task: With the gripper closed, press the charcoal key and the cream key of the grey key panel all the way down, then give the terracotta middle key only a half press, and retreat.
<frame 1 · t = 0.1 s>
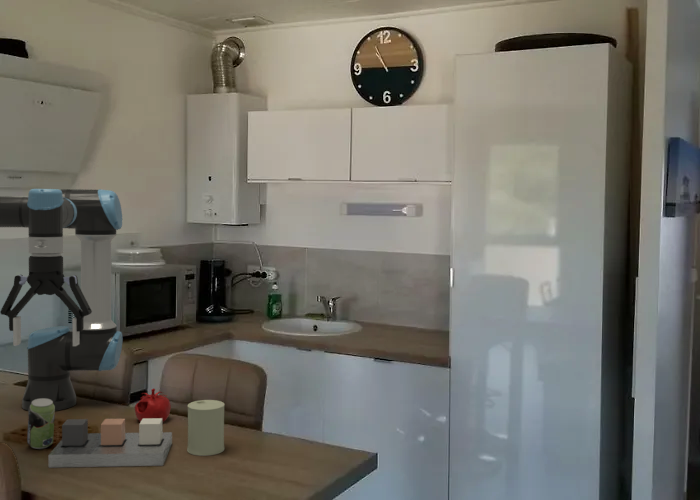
hand: (46, 345, 180), 28 cm above the table, fingers open, 13 cm apart
charcoal key: (75, 432, 185), point 6 cm above the table, slide at 0.0 cm
beverage can: (41, 447, 191), on the table
key panel: (113, 455, 186), on the table
pomegranate: (152, 421, 215), on the table
can: (205, 450, 191), on the table
terracotta key: (113, 431, 186), point 6 cm above the table, slide at 0.0 cm
cream key: (151, 431, 187), point 6 cm above the table, slide at 0.0 cm
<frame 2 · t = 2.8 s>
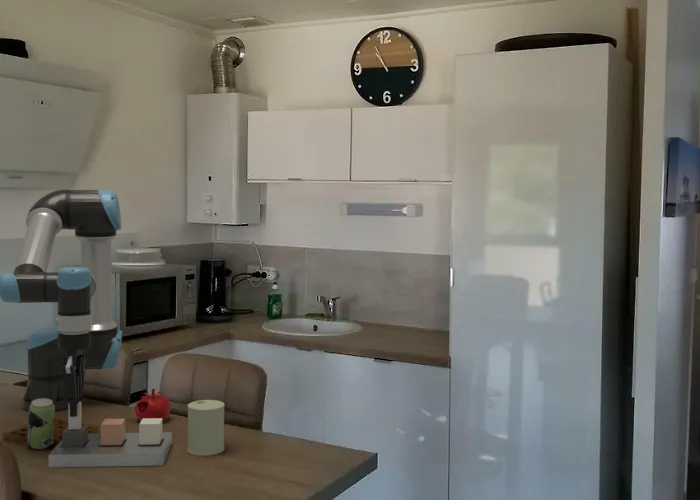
hand: (74, 428, 184), 7 cm above the table, fingers closed
charcoal key: (75, 439, 185), point 4 cm above the table, slide at 1.8 cm, touching gripper
everything else where it was.
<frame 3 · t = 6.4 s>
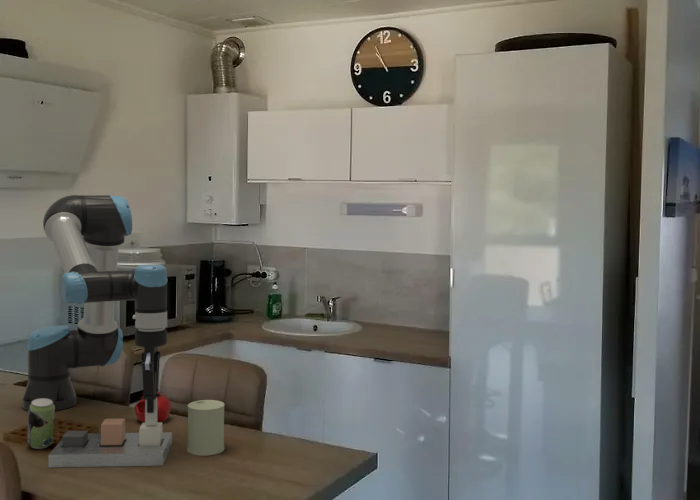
hand: (151, 424, 186), 8 cm above the table, fingers closed
charcoal key: (75, 443, 185), point 3 cm above the table, slide at 2.9 cm
cream key: (151, 435, 187), point 5 cm above the table, slide at 1.1 cm, touching gripper
everything else where it was.
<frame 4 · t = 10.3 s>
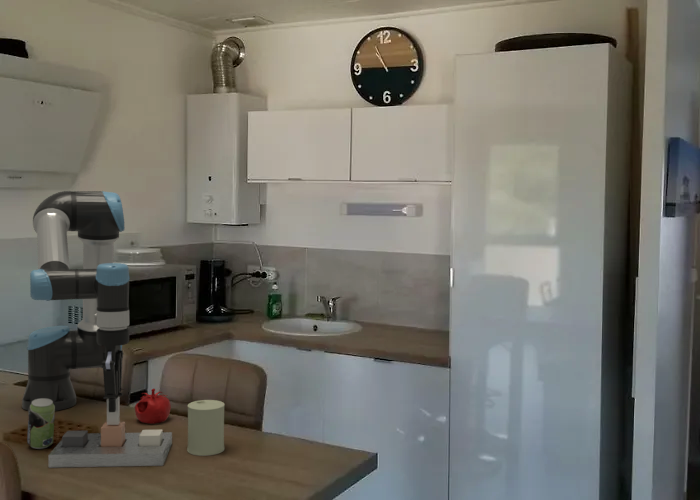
hand: (113, 423, 185), 8 cm above the table, fingers closed
terracotta key: (113, 434, 186), point 5 cm above the table, slide at 0.8 cm, touching gripper
cream key: (151, 442, 187), point 3 cm above the table, slide at 2.9 cm
everything else where it was.
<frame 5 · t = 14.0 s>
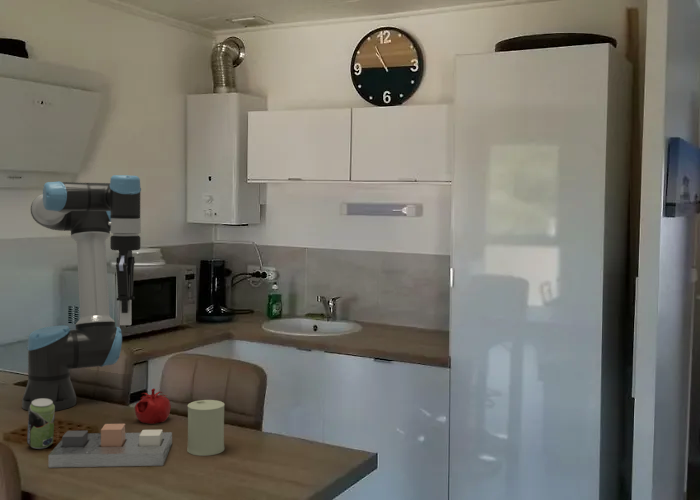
hand: (125, 324, 200), 29 cm above the table, fingers closed
terracotta key: (113, 436, 186), point 5 cm above the table, slide at 1.3 cm
everything else where it was.
at the end: charcoal key slide at 2.9 cm; cream key slide at 2.9 cm; terracotta key slide at 1.3 cm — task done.
